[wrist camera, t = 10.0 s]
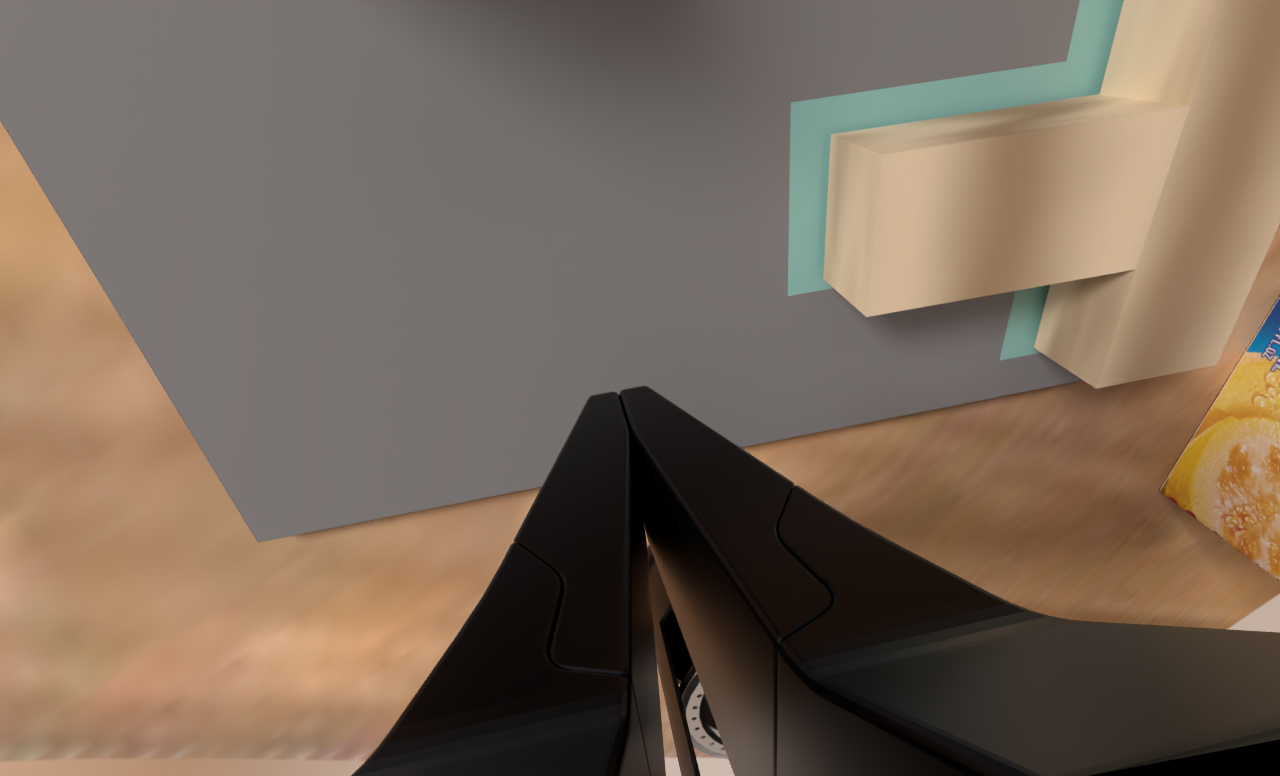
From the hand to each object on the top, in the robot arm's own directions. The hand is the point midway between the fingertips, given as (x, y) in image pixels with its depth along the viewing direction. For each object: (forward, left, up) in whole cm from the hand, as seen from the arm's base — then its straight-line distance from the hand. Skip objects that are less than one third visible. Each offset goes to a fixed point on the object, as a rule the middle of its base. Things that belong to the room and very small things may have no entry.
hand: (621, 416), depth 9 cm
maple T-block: (-14, +1, -11) cm, 18 cm away
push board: (-5, +1, -12) cm, 13 cm away
